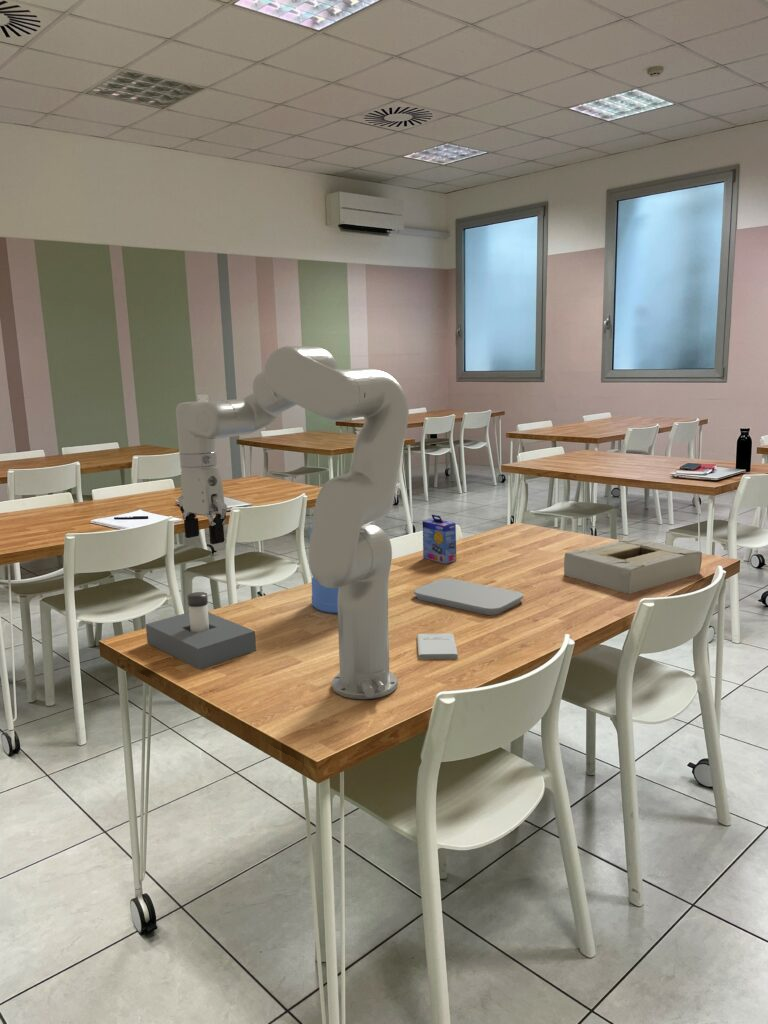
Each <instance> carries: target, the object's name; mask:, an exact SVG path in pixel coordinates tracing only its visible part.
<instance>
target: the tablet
mask: <svg viewBox="0 0 768 1024" xmlns="http://www.w3.org/2000/svg"><path fill="white" fill-rule="evenodd" d="M413 594H414V595H415V596H416V599H417V600H420V601H425V602H429V603H433V604H438V605H442V606H448V607H452V608H454V609H460V610H465V611H469V612H473V613H477V614H482V615H487V616H488V615H489V616H494V615H499V614H501V613H503V612H505V611H507V610H509V609H511V608H513V607H515V606H517V605H518V604H520V603H521V601H522V599H523V598H524V593H523V592H520V591H516V590H512V589H508V588H503V587H502V588H501V587H496V586H491V585H486V584H480V583H475V582H471V581H466V580H461V579H457V578H456V579H455V578H450V577H449V578H439V579H437V580H434V581H431V582H429V583H428V584H424V585H422V586H419V587H416V588H415V589H414V590H413Z"/></svg>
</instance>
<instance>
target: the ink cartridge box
mask: <svg viewBox="0 0 768 1024" xmlns="http://www.w3.org/2000/svg"><path fill="white" fill-rule="evenodd" d="M431 517H432V518H430V519H426V520H422V557H423V559H425V560H430V561H432V562H436V563H441V564H445V565H446V564H450V563H452V562H457V528H456V526H457V525H456V522H454V521H449V520H443V519H442V517H441V515H436V514H431Z"/></svg>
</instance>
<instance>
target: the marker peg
mask: <svg viewBox="0 0 768 1024" xmlns="http://www.w3.org/2000/svg"><path fill="white" fill-rule="evenodd" d="M208 601H209V600H208V593H207V592H204V591H197V592H196V591H195V592H192V593H188V594H187V606H188V612H189V617H190V630H191V632H192V633H194V634H196V633H199V632H203V631H206V630H209V619H208V612H209V608H208V606H209V605H208V604H209V603H208Z"/></svg>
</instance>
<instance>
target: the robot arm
mask: <svg viewBox="0 0 768 1024" xmlns="http://www.w3.org/2000/svg"><path fill="white" fill-rule="evenodd" d="M263 367H264V368H263V370H262V371H260V372H259V373H258V374H256V376H255V377H254V379H253V381H252V393H251V394H249V395H247V396H245V397H242V398H239V399H237V398H236V399H223V400H221V399H220V400H214V401H213V400H211V401H185V402H184V401H183V402H181V403H178V404H177V406H176V407H175V416H176V427H177V428H176V429H177V441H178V453H179V464H180V469H181V471H180V490H181V491H180V492H181V493H180V496H178V498H177V501H178V505H179V507H180V508H179V510H180V512H181V513H182V516H181V519H182V520H183V523H184V524H183V525H184V526H183V527H184V537H185V538H187V539H190V538H195V537H196V538H197V537H199V536H200V528H199V518H198V517H197V515H198V516H204V517H206V518H207V520H208V522H209V524H210V525H208V533H209V544H211V545H217V544H222V543H224V542H225V529H224V524H225V523H226V522H225V521H226V520H225V519H226V517H227V511H228V506H227V505H228V504H226V503H225V497H224V496H225V495H224V487H223V483H222V477H221V473H220V470H219V467H218V460H217V447H216V446H217V445H216V439H217V440H218V439H219V440H220V439H226V438H231V437H237V436H245V435H250V434H253V433H254V432H258V431H260V430H261V429H264V428H266V427H268V426H269V425H271V424H273V423H274V422H276V421H277V420H278V419H279V418H280V417H281V415H282V414H283V412H285V411H287V410H289V409H291V408H293V407H295V406H299V407H301V408H303V409H305V410H307V411H308V412H311V413H313V414H315V415H317V416H319V417H321V418H324V419H327V420H330V421H331V420H332V421H344V420H350V419H351V420H352V419H357V418H364V423H363V425H362V427H361V429H360V431H359V433H358V435H357V437H356V440H355V443H354V447H353V453H352V454H353V455H352V460H351V464H350V469H349V471H348V472H347V473H345V474H341V475H337V476H335V477H333V478H330V479H328V480H327V481H326V482H325V483H324V484H323V486H322V487H321V488H320V490H319V492H318V494H317V497H316V499H315V504H314V509H313V517H312V523H311V525H312V530H311V537H310V541H309V544H308V545H309V547H308V553H307V554H308V555H307V558H308V560H307V561H308V565H309V570H310V573H311V576H312V578H313V577H314V579H315V580H316V581H317V582H318V583H319V584H320V585H322V586H324V587H327V588H339V590H338V613H337V628H338V629H337V630H338V631H337V632H338V653H339V654H338V655H339V657H338V659H339V661H338V662H339V673H337V674H336V675H335V676H334V677H333V679H332V681H331V688H332V690H333V691H334V692H335V693H336V694H337V695H339V696H341V697H344V698H346V699H347V698H348V699H353V700H372V699H379V698H382V697H385V696H388V695H389V694H392V693H393V692H394V691H395V690H396V689H397V688H398V684H399V683H398V682H399V681H398V677H397V676H396V674H394V673H393V672H391V671H390V641H389V640H390V638H389V637H390V636H389V634H390V633H389V580H390V573H391V572H390V571H391V566H392V559H393V558H392V557H393V548H392V543H391V540H390V539H391V538H390V537H389V536H388V534H387V533H386V531H384V530H383V529H382V528H381V527H379V526H378V525H375V524H372V523H374V522H377V521H379V520H381V519H383V518H385V517H386V516H388V514H389V513H390V512H391V510H392V508H393V505H394V500H395V496H396V495H395V494H396V489H397V484H398V477H399V471H400V467H401V459H402V452H403V448H404V447H403V446H404V442H405V438H406V434H407V430H408V429H407V428H408V424H409V418H410V417H409V416H410V415H409V414H410V413H409V412H410V410H409V407H410V406H409V403H408V399H407V396H406V392H405V391H404V388H403V387H402V386H401V384H400V383H399V382H398V380H397V379H395V378H394V377H393V376H392V375H391V374H389V373H388V372H386V371H383V370H380V369H375V368H367V367H366V368H365V367H364V368H363V367H361V368H346V369H345V368H343V369H338V364H337V361H336V360H335V358H334V356H333V355H332V353H330V352H329V351H328V350H327V349H324V348H322V347H320V346H312V345H311V346H310V345H301V346H300V345H299V346H298V345H297V346H296V345H291V346H289V345H286V346H282V347H279V348H277V349H275V350H273V351H272V352H271V353H270V354H269V356H268V357H267V359H266V361H265V362H264V366H263Z"/></svg>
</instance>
